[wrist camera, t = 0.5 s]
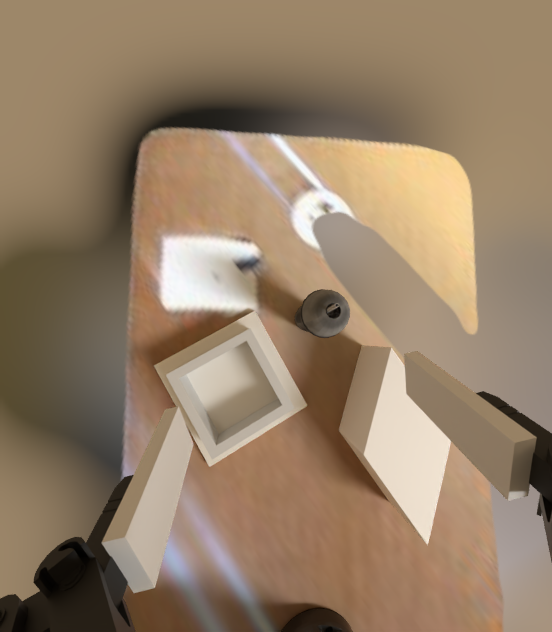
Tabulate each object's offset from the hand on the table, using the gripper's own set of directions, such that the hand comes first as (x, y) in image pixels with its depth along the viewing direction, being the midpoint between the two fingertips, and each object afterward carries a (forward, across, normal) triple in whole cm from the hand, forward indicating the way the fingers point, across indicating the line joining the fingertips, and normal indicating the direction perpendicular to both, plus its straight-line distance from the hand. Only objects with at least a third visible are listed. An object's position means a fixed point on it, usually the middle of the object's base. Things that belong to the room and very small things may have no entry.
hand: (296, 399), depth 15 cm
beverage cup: (+35, -6, +8) cm, 36 cm away
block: (+28, -15, +30) cm, 43 cm away
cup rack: (+29, +10, +16) cm, 35 cm away
